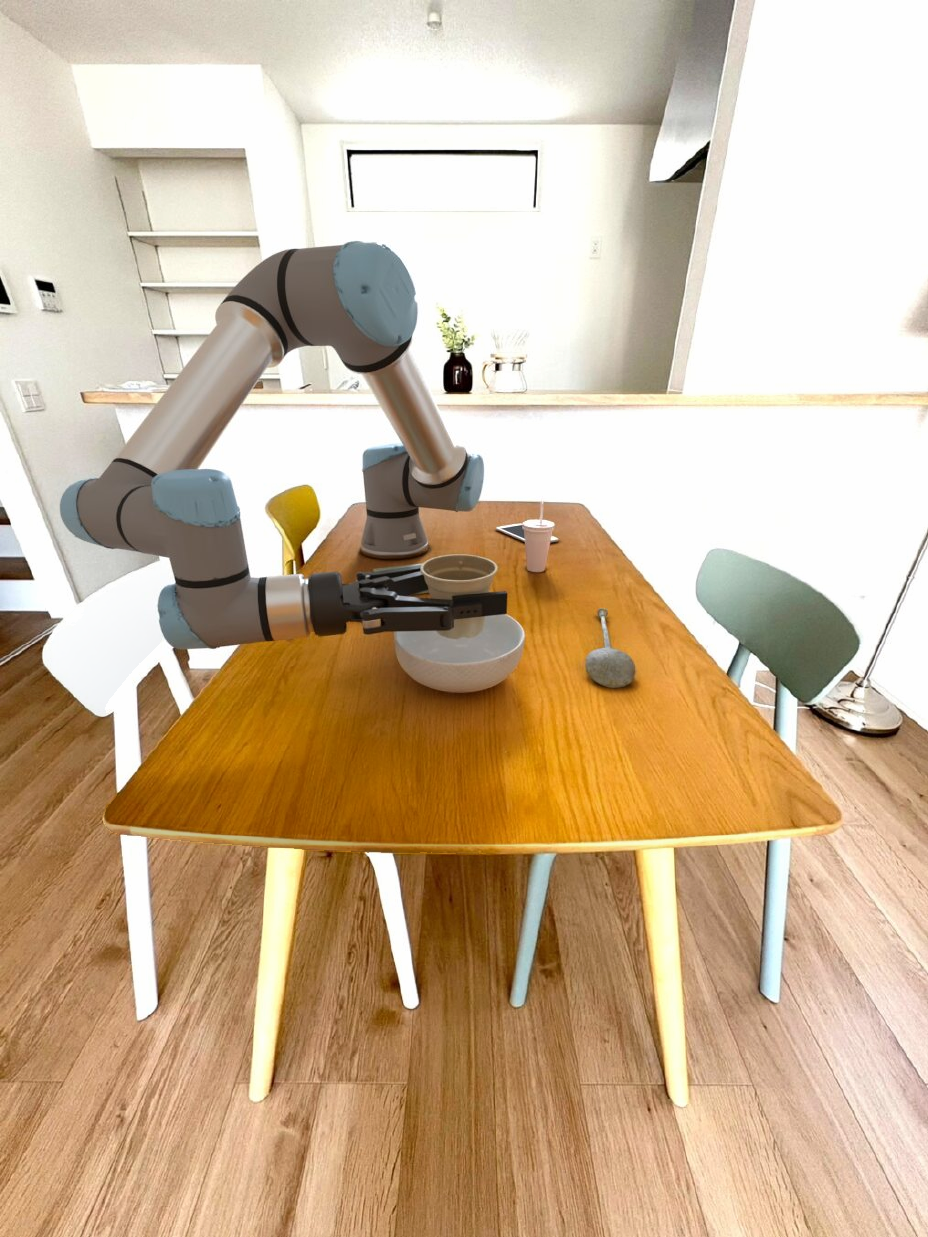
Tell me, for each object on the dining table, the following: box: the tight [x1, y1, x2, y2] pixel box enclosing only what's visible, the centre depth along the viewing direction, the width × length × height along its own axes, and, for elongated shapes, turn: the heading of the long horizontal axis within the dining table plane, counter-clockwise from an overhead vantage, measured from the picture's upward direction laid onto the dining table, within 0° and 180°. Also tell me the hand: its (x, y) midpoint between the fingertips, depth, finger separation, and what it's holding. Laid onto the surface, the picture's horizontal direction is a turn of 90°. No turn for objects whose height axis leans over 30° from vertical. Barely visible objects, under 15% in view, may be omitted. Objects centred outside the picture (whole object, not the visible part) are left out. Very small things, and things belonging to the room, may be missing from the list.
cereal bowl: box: [393, 614, 526, 694], centre depth 69 cm, size 17×17×7 cm
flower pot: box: [420, 553, 499, 639], centre depth 65 cm, size 9×9×9 cm
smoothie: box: [522, 501, 555, 573], centre depth 105 cm, size 6×6×14 cm
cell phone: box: [495, 523, 559, 544], centre depth 130 cm, size 8×16×1 cm, turn 30°
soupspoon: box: [584, 607, 637, 689], centre depth 77 cm, size 22×3×7 cm
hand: (495, 588), depth 66 cm, fingers closed on flower pot, 8 cm apart
